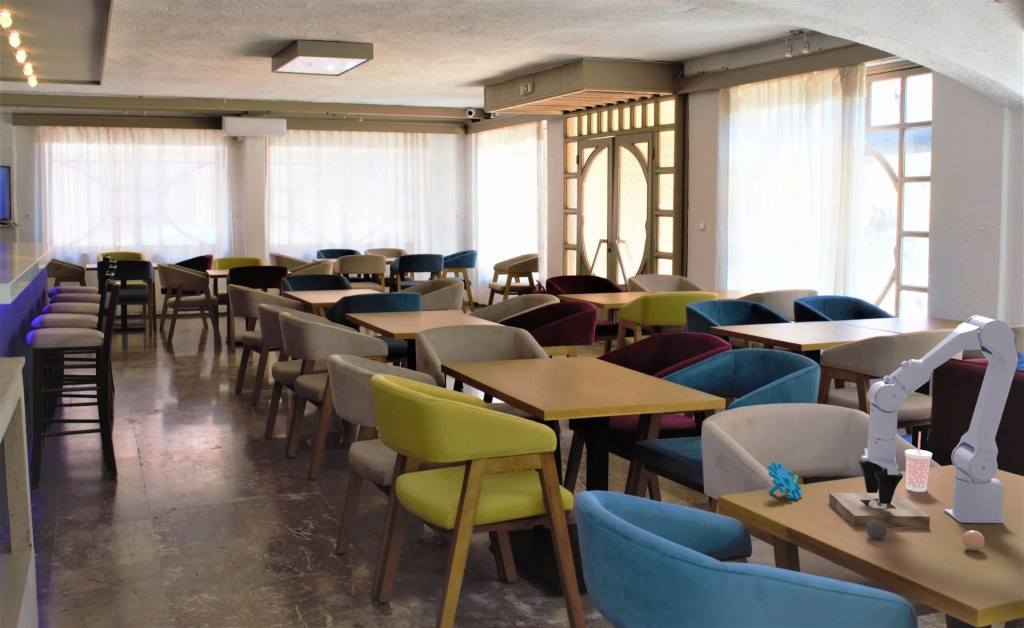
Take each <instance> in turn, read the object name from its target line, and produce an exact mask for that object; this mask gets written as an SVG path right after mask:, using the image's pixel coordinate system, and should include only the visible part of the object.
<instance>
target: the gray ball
mask: <svg viewBox="0 0 1024 628" xmlns="http://www.w3.org/2000/svg"><path fill="white" fill-rule="evenodd" d="M865 529H866V531H865V532H866V534H867V535H868V537H870V538H871V539H873V540H882V539H883V538H884V537H885V536H886V535H887V534H888V533H887V532H888V527H886V525H885V523H884V522H883V521H881V520H878V519H874V520H871V521H870V522H869V523H868V524H867V526H866V527H865Z"/></svg>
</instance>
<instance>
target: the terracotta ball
mask: <svg viewBox="0 0 1024 628" xmlns="http://www.w3.org/2000/svg"><path fill="white" fill-rule="evenodd" d="M961 540H962V544H963V546H964V548H966V549H967V550H969V551H973V552H976V551H980V550H982V548H983V547H984V545H985V537H984V536H983V534H982V533H981V532H980V531H979V530H975V529H972V530H967V531H966V532H965V533H964V534H963V535H962V539H961Z"/></svg>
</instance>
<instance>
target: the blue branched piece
mask: <svg viewBox="0 0 1024 628" xmlns="http://www.w3.org/2000/svg"><path fill="white" fill-rule="evenodd" d="M767 468H768V470H769V471H768V473H767V474H768V476H769V477H771V478H773V479H772V481H771V482H772V483H773V487H771V488H770V489H769V490H768V494H770V495H772V494H774V493H775V492H776V491H777V490H778V491H779V493H781V494H784V493H785V492H787V493H786V498H788V499H789V500H791V499H793V500H795V501H797V500H799V499H800V497H801V496H803V493H802V492H801V490H802V486H801V484H799V483H797V482H798V479H799V475H797V474H794V475H793V476H792V475H791V474H792V471H791V470H790V468H788V467H787V468H786V469H785V470H784V468H785V465H784V464H783V463H781V462H779V463H778V462H776V461H773V462H771V463H770V465H768V466H767Z"/></svg>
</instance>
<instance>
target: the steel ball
mask: <svg viewBox="0 0 1024 628" xmlns="http://www.w3.org/2000/svg"><path fill="white" fill-rule="evenodd" d="M868 508H882V509H887V504H881V503H880V501H879V499H878V498H875V499H872V500H871V501H870V502H869V504H868Z"/></svg>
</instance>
